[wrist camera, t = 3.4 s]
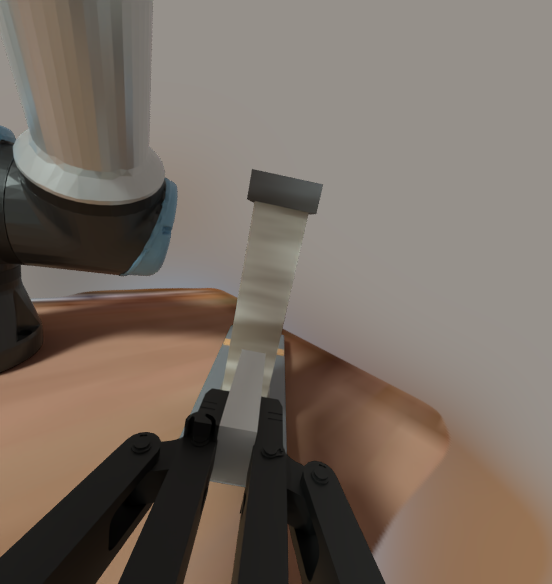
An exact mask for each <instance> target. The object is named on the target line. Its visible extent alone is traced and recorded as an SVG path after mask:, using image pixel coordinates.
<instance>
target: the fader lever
mask: <svg viewBox="0 0 552 584" xmlns="http://www.w3.org/2000/svg"><path fill="white" fill-rule="evenodd" d="M322 187H323V184H318V183H314V182H309V181H304V180H300V179H295V178H291V177H286V176H281V175H277V174H272V173H268V172H263V171H258V170H253V169H252V174H251V179H250V186H249V191H248V198H247V199H248V200H250V201H252V202H254V208H253V214H252V220H251V226H250V231H249V238H248V243H247V249H246V254H245V260H244V266H243V272H242V277H241V283H240V289H239V295H238V300H237V306H236V312H235V318H234V323H233V329H232V335H231V341H230V346H229V352H228V358H227V364H226V369H225V375H224V379H223V381H222V384H221V387H220V390H225V391H230V388H231V385H232V382H233V378H234V375H235V372H236V368H237V365H238V361H239V358H240V355H241V351H242V349H244V350H249V351H255V352H260V353H265V354H266V357H265V366H264V375H263V384H262V393H261V396H262V397H267V398H269V395H270V388H269V386H270V381H271V377H272V373H273V368H274V364H275V359H276V355H277V350H278V346H279V342H280V337H281V333H282V328H283V324H284V319H285V315H286V311H287V306H288V301H289V297H290V293H291V288H292V284H293V280H294V275H295V271H296V266H297V262H298V258H299V253H300V248H301V244H302V240H303V235H304V231H305V227H306V222H307V218H308V214H316V213H317V208H318V204H319V200H320V195H321V191H322Z"/></svg>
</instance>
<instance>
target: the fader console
mask: <svg viewBox="0 0 552 584" xmlns="http://www.w3.org/2000/svg"><path fill="white" fill-rule="evenodd" d="M232 329H233V325H231V327H230V329H229V331H228V334H227V336H226V338H225V340H224V342H223V344H222V347H221V349H220V351H219V353H218V355H217V357H216V360H215V362H214V364H213V366H212V368H211V371H210V373H209V375H208V377H207V379H206V381H205V384H204V386H203V388H202V390H201V392H200V394H199V397H198V399H197V401H196V403H195V405H194V407H193V410H192V412H191V414H192V413H194V412H198V410H199V408H200V405H201V403H202V400H203V398H204V396H205V393H207V392H208V391H209V390H210V389H212V388H214V389H220V387H221V384H222V381H223V379H224V375H225V369H226V364H227V358H228V352H229V346H230V341H231V335H232ZM269 388H270V395H269V398H272V399H278V400H279V401H280V403H281V405H282V407H283V447H284V449H285V452H286V454H287V446H286V402H285V359H284V335H281V337H280V342H279V346H278V350H277V355H276V359H275V364H274V368H273V373H272V377H271V381H270V386H269ZM191 414H190V415H191ZM184 428H185V427H184ZM183 436H184V429H183V431H182V434H181V436H180V438H181V437H183ZM210 481H213V482H218V483H224V484H230V485H235V486H241V487H245V486H243V485H237V484H232V483H226V482H220V481H214V480H210Z"/></svg>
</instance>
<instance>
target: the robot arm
mask: <svg viewBox="0 0 552 584" xmlns="http://www.w3.org/2000/svg"><path fill="white" fill-rule="evenodd" d="M152 12H153V0H0V35H1V38H2V41H3V45H4V48H5V51H6V55H7V58H8V61H9V64H10V68H11V71H12V74H13V77H14V81H15V84H16V87H17V91H18V94H19V98H20V101H21V104H22V108H23V111H24V114H25V118H26V120H27V124H28V127H29V129H27V130H26V131H24V132H23V133H22V134H21V135H20V136H19V137H18V138H17V139H16V138H15V136H14V134H13V133H12V131H11V130H9V129H7V128H5V127H3V126H0V372H2V371H4V370H7V369H9V368H11V367H13V366H16V365H18V364H19V363H21V362H23V361H25V360H26V359H28V358H29V357H31V356H32V355H34V354H35V353H36V352H37V351H38V350H39V348H40V347H41V345H42V343H43V326H42V322H41V320H40V318H39V316H38V313H37V311H36V309H35V307H34V305H33V303H32V301H31V299H30V297H29V296H28V293H27V291H26V290H25V288H24V286H23V283H22V280H21V265H31V266H40V267H49V268H59V269H67V270H76V271H86V272H95V273H104V274H113V275H119V276H127V275H139V276H150V275H153V274H155V273H156V272H158V270H159V269H160V268H161V266H162V265H163V262H164V259H165V256H166V253H167V250H168V246H169V242H170V238H171V230H172V227H173V223H174V219H175V213H176V206H177V186H176V184H175V183H174V182H172V181H170V180H169V179H167V178H165V170H164V166H163V163H162V161H161V159H160V158H159V156H158V155H157V154H156V153H155V151H153V150H152V149H151V148H150V147H149V128H150V91H151V51H152ZM265 357H266V354H265V353H260V352H255V351H249V350H244V349H242V351H241V355H240V358H239V361H238V365H237V368H236V372H235V375H234V378H233V382H232V385H231V388H230V391H225V390H220V389H214V388H212V389H210V390H209V391H208V392H207V393H205V396H204V398H203V400H202V403H201V405H200V408H199V410H198V412H194V413H192V414H191V415H189V416H188V417H187V419H186V421H185V428H184V436H183V437H181V438H179V439H177V440H172V441H164V442H161V441H160V439H159V437H158V436H157V435H155V434H154V433H149V432H143V433H138V434H135V435H133V436H131V437H130V438H128V439H127V440H126V441H125V442H124V443H123V444H121V445H120V446H119V447H118V448H117V449H116V450H115V451H114V452H113V453H112V454H111V455H110V456H109V457H108V458H106V459H105V460H104V461H103V462H102V463H101V464H100V465H99V466H98V467H97V468H96V469H95V470H94V471H92V472H91V473H90V474H89V475H88V476H87V477H86V478H85V479H84V480H83V481H82V482H81V483H80V484H79V485H77V486H76V487H75V488H74V489H73V490H72V491H71V492H70V493H69V494H68V495H67V496H66V497H65V498H64V499H62V500H61V501H60V502H59V503H58V504H57V505H56V506H55V507H54V508H53V509H52V510H51V511H50V512H49V513H47V514H46V515H45V516H44V517H43V518H42V519H41V520H40V521H39V522H38V523H37V524H36V525H35V526H34V527H32V528H31V529H30V530H29V531H28V532H27V533H26V534H25V535H24V536H23V537H22V538H21V539H20V540H19V541H17V542H16V543H15V544H14V545H13V546H12V547H11V548H10V549H9V550H8V551H7V552H6V553H5V554H4V555H2V556H1V557H0V584H96V582H97V581H98V579H99V578H100V577H101V575H102V574H103V573H104V571H105V570H106V568H107V567H108V566H109V564H110V563H111V561H112V560H113V559H114V557H115V556H116V554H117V553H118V552H119V550H120V549H121V548H122V546H123V545H124V543H125V542H126V541H127V539H128V538H129V536H130V535H131V534H132V532H133V531H134V529H135V528H136V527H137V525H138V524H139V523H140V521H141V520H142V518H143V517H144V516H145V514H146V513H147V511H148V510H149V509H150V507H151V506H152V504H153V503H154V504H153V506H152V509H151V511H150V513H149V515H148V518H147V520H146V522H145V524H144V527H143V529H142V531H141V533H140V536H139V538H138V540H137V542H136V545H135V547H134V549H133V551H132V554H131V556H130V558H129V560H128V563H127V565H126V567H125V569H124V572H123V574H122V576H121V578H120V581H119V583H118V584H183V583H184V579H185V575H186V571H187V568H188V564H189V560H190V556H191V553H192V549H193V545H194V541H195V537H196V534H197V530H198V526H199V522H200V519H201V515H202V511H203V507H204V504H205V500H206V496H207V492H208V486H209V481H210V480H214V481H220V482H226V483H232V484H237V485H243V486H245V492H244V496H243V501H242V506H241V510H240V513H241V517H240V524H239V531H238V539H237V546H236V553H235V560H234V568H233V575H232V582H231V584H288V534H287V524H289V529H290V533H291V538H292V542H293V546H294V550H295V554H296V559H297V563H298V567H299V571H300V575H301V580H302V584H385V582H384V580H383V577H382V575H381V573H380V571H379V569H378V566H377V564H376V562H375V560H374V558H373V555H372V553H371V551H370V549H369V547H368V544H367V542H366V540H365V538H364V536H363V533H362V531H361V529H360V527H359V525H358V523H357V520H356V518H355V516H354V514H353V512H352V509H351V507H350V505H349V503H348V501H347V499H346V496H345V494H344V492H343V490H342V488H341V485H340V483H339V481H338V479H337V477H336V475H335V473H334V472H333V470H332V469H331V468H330V467H329V466H328V465H326V464H324V463H322V462H319V461H311V462H308V463H307V464H306V465H305V466H303V465H301V464H299V463H297V462H295V461H294V460H292V459H291V458H290V457H289V456H288V455H287V454H286V452H285V449H284V447H283V407H282V405H281V403H280V401H279V400H278V399H272V398H267V397H262V396H261V393H262V384H263V375H264V366H265Z"/></svg>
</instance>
